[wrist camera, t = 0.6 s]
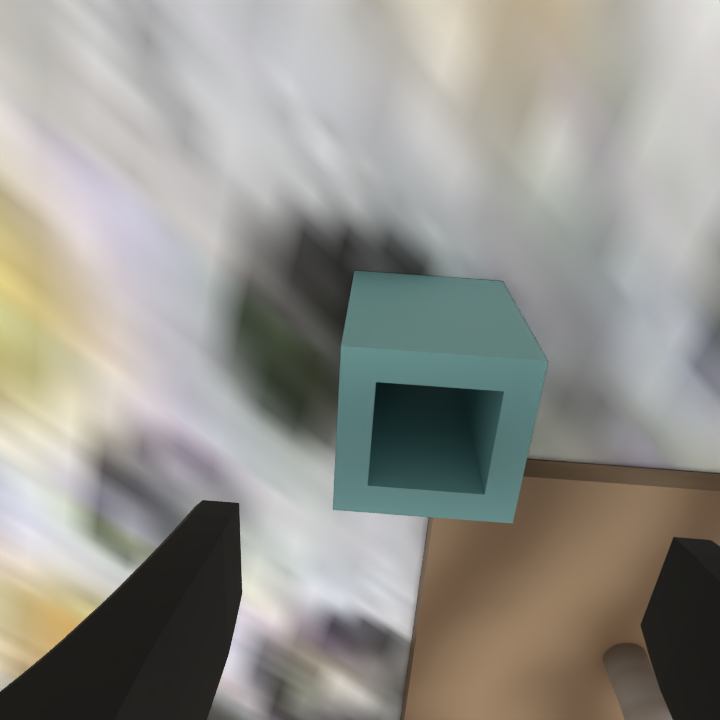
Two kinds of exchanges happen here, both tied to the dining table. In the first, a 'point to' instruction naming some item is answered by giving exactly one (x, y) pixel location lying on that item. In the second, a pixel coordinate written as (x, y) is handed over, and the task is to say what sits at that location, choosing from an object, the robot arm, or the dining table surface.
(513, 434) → the teal square sleeve
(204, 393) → the dining table surface
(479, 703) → the shaft base
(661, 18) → the dining table surface
